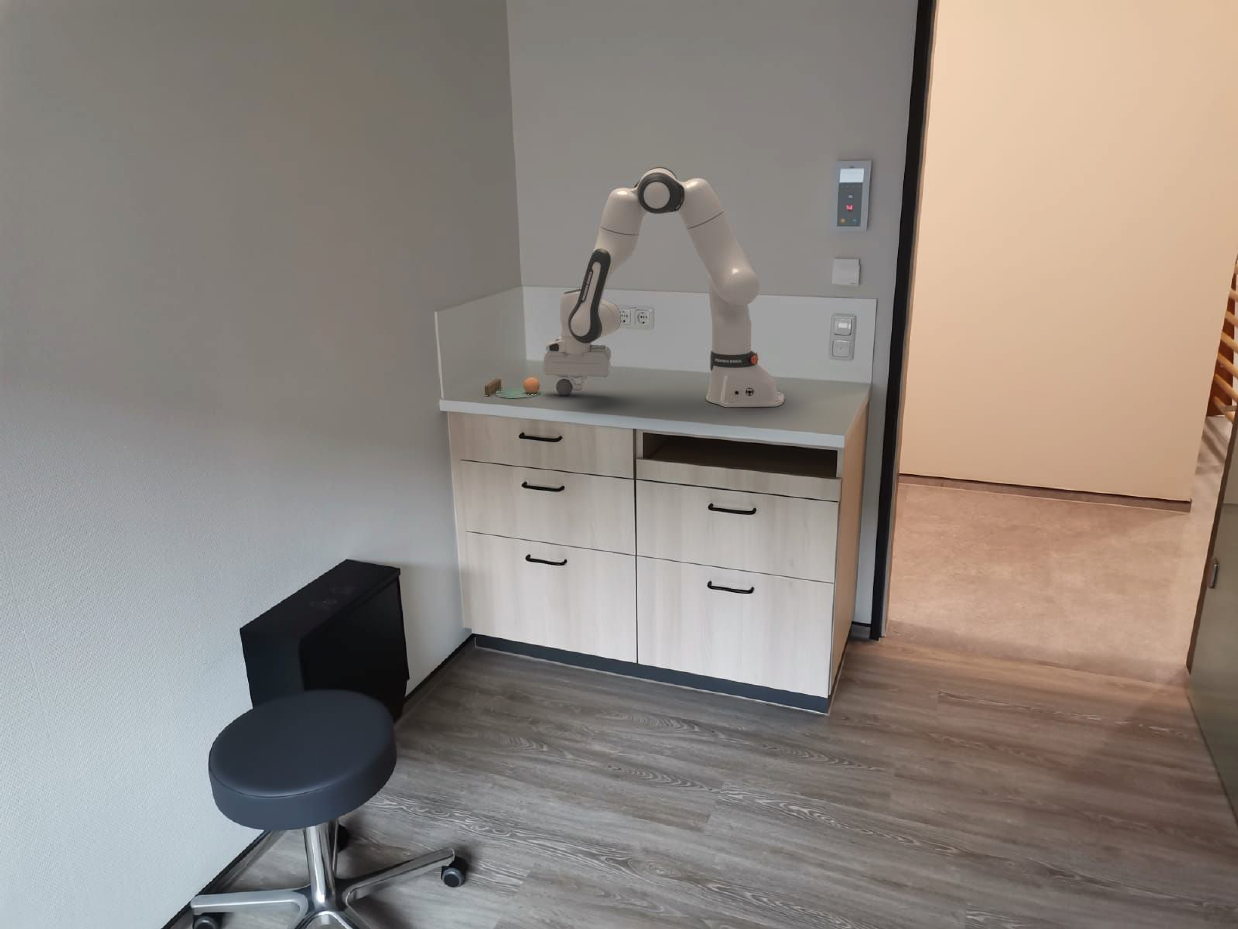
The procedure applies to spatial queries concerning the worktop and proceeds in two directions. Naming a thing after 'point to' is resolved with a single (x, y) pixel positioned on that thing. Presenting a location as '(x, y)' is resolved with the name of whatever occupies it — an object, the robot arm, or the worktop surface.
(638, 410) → the worktop surface
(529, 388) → the object ball
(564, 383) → the dark gray ball
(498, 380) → the stopper bar
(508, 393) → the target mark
